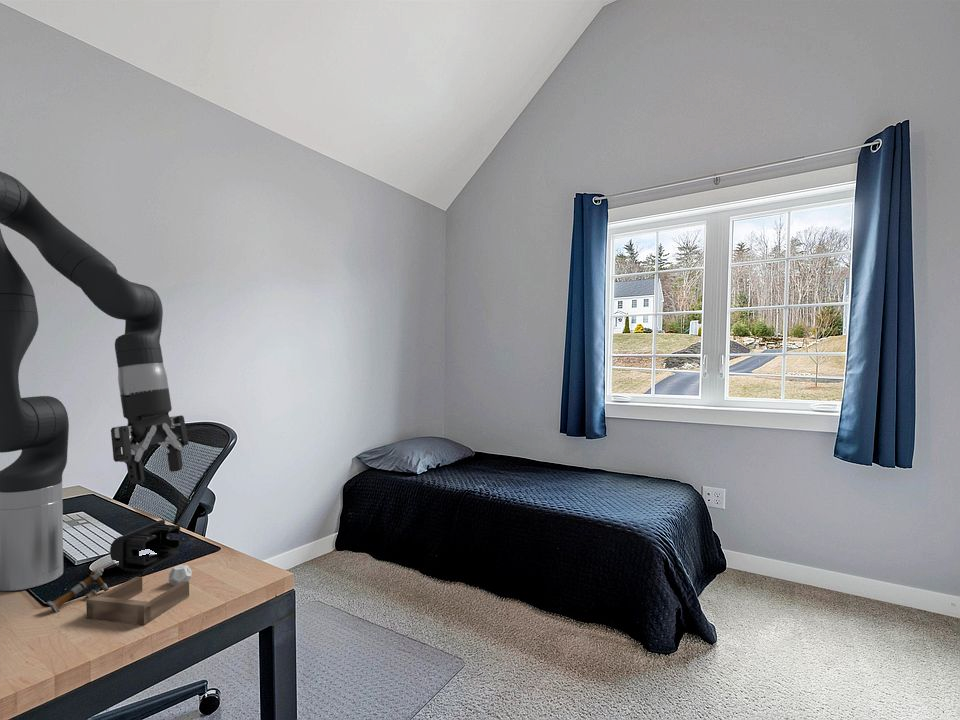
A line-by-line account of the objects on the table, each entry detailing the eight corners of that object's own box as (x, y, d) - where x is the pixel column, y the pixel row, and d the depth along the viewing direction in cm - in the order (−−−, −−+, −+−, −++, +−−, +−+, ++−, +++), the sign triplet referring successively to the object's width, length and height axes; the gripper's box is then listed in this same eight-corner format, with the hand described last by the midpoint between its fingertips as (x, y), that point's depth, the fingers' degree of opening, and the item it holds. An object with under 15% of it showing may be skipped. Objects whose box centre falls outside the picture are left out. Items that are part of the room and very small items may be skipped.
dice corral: (86, 618, 79) (86, 599, 79) (136, 590, 88) (136, 573, 88) (144, 625, 77) (144, 605, 77) (189, 596, 86) (189, 578, 86)
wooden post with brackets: (115, 586, 88) (103, 566, 86) (65, 624, 82) (50, 604, 80) (110, 583, 89) (98, 564, 87) (60, 621, 83) (46, 601, 81)
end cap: (152, 550, 106) (152, 518, 106) (182, 553, 105) (181, 520, 104) (109, 571, 96) (108, 535, 96) (141, 574, 95) (141, 538, 95)
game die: (173, 579, 92) (173, 563, 92) (195, 578, 93) (195, 562, 93) (164, 588, 89) (164, 572, 89) (187, 587, 90) (187, 570, 90)
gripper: (159, 389, 101) (171, 469, 101) (91, 396, 87) (105, 489, 87) (191, 384, 99) (203, 465, 99) (127, 390, 85) (142, 485, 86)
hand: (157, 476), depth 93 cm, fingers open, 8 cm apart
